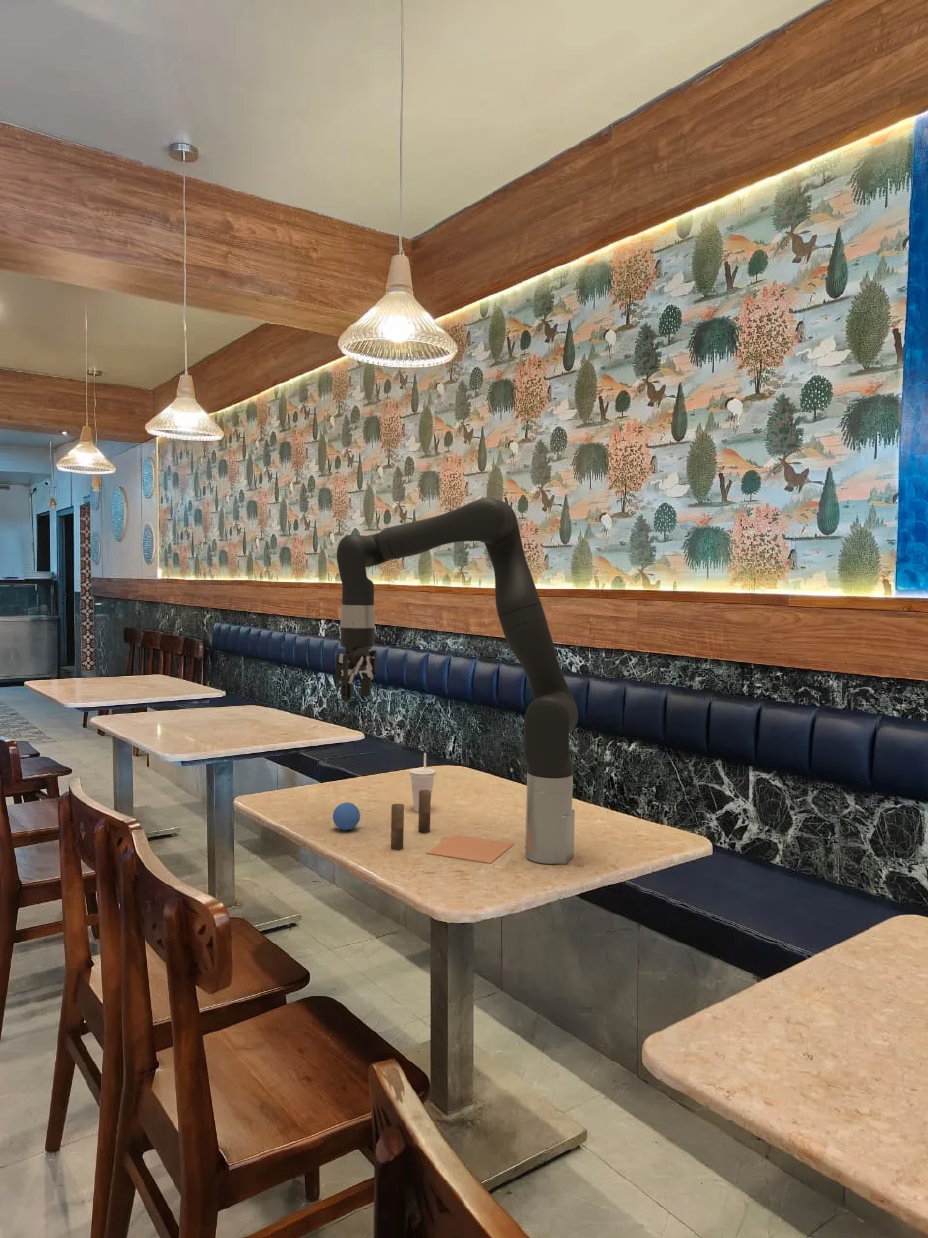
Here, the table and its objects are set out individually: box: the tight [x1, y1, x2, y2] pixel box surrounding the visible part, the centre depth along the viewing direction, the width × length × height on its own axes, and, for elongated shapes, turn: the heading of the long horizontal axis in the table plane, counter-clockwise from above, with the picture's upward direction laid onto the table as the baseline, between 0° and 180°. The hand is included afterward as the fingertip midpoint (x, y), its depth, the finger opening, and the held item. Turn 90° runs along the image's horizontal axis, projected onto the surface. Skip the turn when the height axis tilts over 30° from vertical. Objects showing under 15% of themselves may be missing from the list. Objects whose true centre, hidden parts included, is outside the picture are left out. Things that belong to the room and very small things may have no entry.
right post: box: [417, 790, 432, 834], centre depth 188 cm, size 3×3×9 cm
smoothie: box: [409, 752, 437, 813], centre depth 206 cm, size 6×6×14 cm
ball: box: [332, 802, 361, 831], centre depth 189 cm, size 6×6×6 cm
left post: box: [390, 803, 405, 851], centre depth 176 cm, size 3×3×9 cm
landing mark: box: [426, 833, 515, 865], centre depth 177 cm, size 14×14×1 cm
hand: (356, 698), depth 189 cm, fingers open, 8 cm apart
